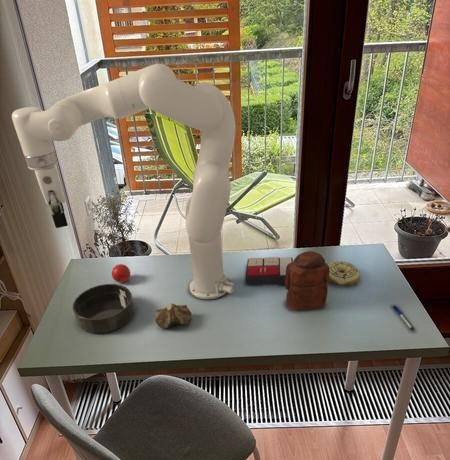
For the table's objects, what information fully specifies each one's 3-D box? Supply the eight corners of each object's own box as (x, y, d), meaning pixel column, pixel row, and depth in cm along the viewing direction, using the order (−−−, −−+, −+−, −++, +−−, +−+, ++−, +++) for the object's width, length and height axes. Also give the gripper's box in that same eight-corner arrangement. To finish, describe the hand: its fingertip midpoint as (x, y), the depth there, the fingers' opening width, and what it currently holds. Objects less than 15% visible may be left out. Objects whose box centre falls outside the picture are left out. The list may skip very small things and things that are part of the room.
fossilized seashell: (193, 305, 128) (161, 309, 130) (186, 297, 122) (152, 301, 124) (193, 330, 125) (160, 333, 127) (185, 323, 119) (151, 327, 121)
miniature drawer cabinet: (247, 256, 146) (292, 255, 144) (248, 267, 148) (292, 266, 146) (245, 275, 137) (293, 273, 135) (246, 286, 139) (293, 285, 137)
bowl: (146, 307, 132) (143, 293, 129) (107, 341, 120) (103, 327, 117) (105, 292, 140) (102, 278, 136) (65, 323, 128) (60, 308, 125)
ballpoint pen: (392, 307, 126) (392, 304, 126) (395, 307, 127) (395, 304, 126) (411, 331, 118) (412, 328, 117) (414, 330, 118) (415, 327, 118)
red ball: (135, 278, 145) (132, 263, 142) (123, 287, 141) (119, 272, 138) (122, 273, 148) (118, 259, 144) (109, 283, 144) (106, 267, 140)
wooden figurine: (320, 295, 132) (325, 245, 122) (327, 308, 127) (333, 257, 117) (282, 300, 131) (284, 249, 121) (287, 313, 126) (290, 261, 116)
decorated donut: (342, 292, 133) (343, 282, 131) (317, 276, 141) (318, 266, 138) (365, 279, 138) (367, 269, 136) (340, 265, 145) (341, 255, 143)
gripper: (59, 167, 106) (77, 229, 116) (54, 147, 119) (70, 204, 129) (27, 173, 104) (48, 235, 114) (25, 152, 117) (44, 210, 127)
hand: (60, 219), depth 121 cm, fingers open, 9 cm apart
